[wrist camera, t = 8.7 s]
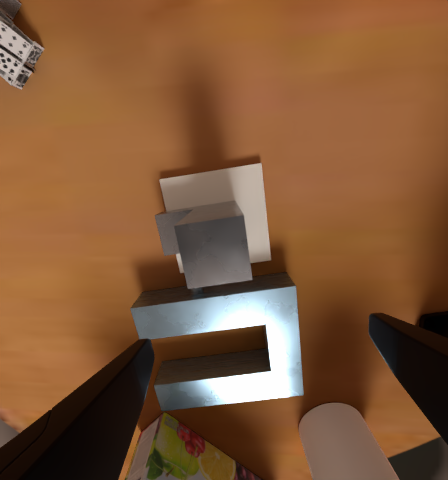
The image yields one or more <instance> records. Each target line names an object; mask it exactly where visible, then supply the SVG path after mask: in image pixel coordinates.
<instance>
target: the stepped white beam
mask: <svg viewBox="0 0 448 480" xmlns="http://www.w3.org/2000/svg"><path fill="white" fill-rule="evenodd" d="M155 219H156V223H157V227H158V231H159V235H160V239H161V243H162V248H163V252H164V256H166V255H172V254H179V253H180V256H181V261H182V265H183V270H184V274H185V279H186V283H187V288H188V289H192V288H199V287H206V286H213V285H220V284H227V283H234V282H241V281H248V280H252V272H251V265H250V257H249V250H248V242H247V234H246V227H245V219H244V214H243V213H242V211H241V209H240V208H239V206H238V204H237V203H236V201H235V200H234V201H228V202H221V203H215V204H209V205H202V206H196V207H190V208H183V209H177V210H171V211H164V212H161V213H159V214H157V215H155Z"/></svg>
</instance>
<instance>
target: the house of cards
mask: <svg viewBox="0 0 448 480" xmlns="http://www.w3.org/2000/svg"><path fill="white" fill-rule="evenodd" d="M20 6H21V3H20V2H18V1H17V0H0V76H1V77H3V78H4V79H5V80H6V81H7V82H8V83H9V84H10V85H12V86H14V87H16V88H19V89H22V88H23V86H24V84H25V83H26V81H27V79H28V78H29V76H30V74H31V73H32V71H31V70H30V69H29V68H28V67H27V66H29V67H30V68H32V69H33V67H34V65H35V63H36V62H37V60H38V58H39V57H40V55H41V53H42V52H43V50H44V48H43V47H41V46H40V45H39V44H37V43H36V42H35V41H33V42H32V41H31V40H30V39H29V38H28V37H27V36H26V35H25V34H24V33H23V32H22V31H21V30H20V29H19V28H18V27H16V26H15V25H14V24H13V22H12V21H11V20H10V19H9V18H8V17H7V16H6V14H7V15H8V16H9V17H10V18H12V19H14V17H15V15H16V13H17V12H18V10H19V8H20ZM26 65H27V66H26ZM34 70H35V69H34ZM35 71H36V70H35Z"/></svg>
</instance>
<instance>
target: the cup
mask: <svg viewBox="0 0 448 480" xmlns="http://www.w3.org/2000/svg"><path fill="white" fill-rule="evenodd" d="M299 435H300V438H301V442H302V445H303V448H304V452H305V455H306V459H307V462H308V465H309V469H310V472H311V475H312V479H313V480H399V478H398V477H397V475H396V473H395V471H394V470H393V468H392V466H391V465H390V463H389V461H388V459H387V458H386V456H385V454H384V453H383V451H382V449H381V448H380V446H379V444H378V442H377V441H376V439H375V437H374V436H373V434H372V432H371V431H370V429H369V427H368V426H367V424H366V422H365V420H364V419H363V417H362V415H361V414H360V412H359V411H358V410H357V409H355V408H354V407H352V406H350V405H347V404H343V403H327V404H322V405H319V406H317V407H315V408H313V409H311V410H310V411H309V412H307V413H306V414H305V415H304V416H303V418H302V419H301V421H300V424H299Z"/></svg>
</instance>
